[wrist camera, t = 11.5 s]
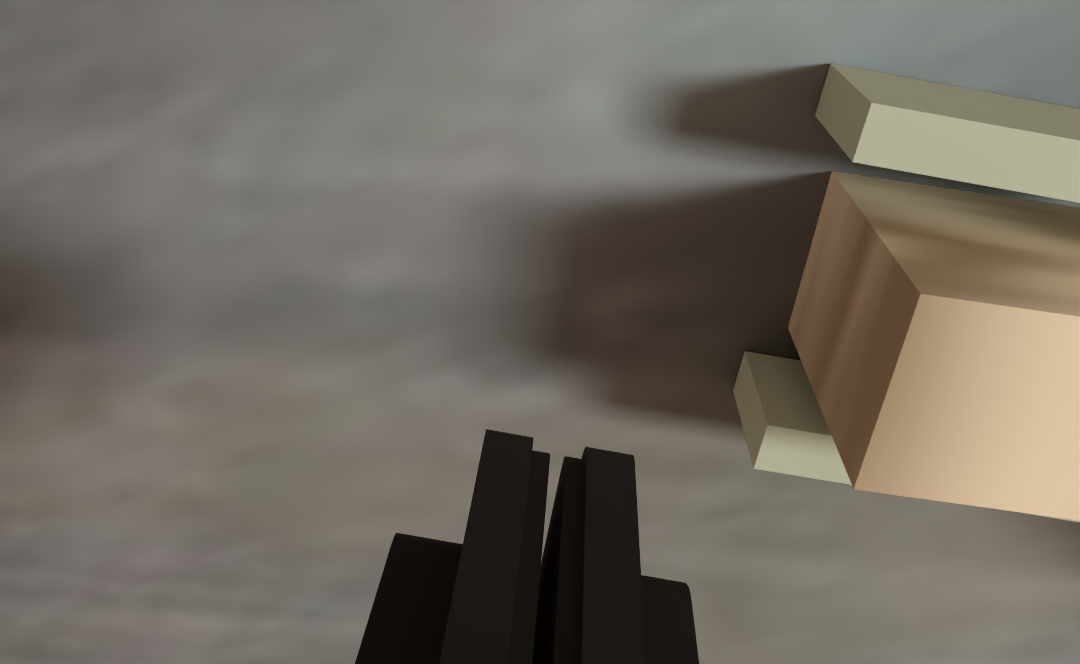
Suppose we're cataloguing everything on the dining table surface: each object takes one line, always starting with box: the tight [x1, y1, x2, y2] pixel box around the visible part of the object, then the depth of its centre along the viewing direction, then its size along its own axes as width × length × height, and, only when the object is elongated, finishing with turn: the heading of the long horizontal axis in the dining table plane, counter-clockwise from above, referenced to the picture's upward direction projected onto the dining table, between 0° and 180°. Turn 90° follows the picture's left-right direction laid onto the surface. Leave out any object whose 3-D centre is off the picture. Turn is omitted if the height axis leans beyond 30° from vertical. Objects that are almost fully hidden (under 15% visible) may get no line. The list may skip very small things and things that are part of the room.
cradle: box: [733, 64, 1080, 522], centre depth 19 cm, size 7×7×3 cm
